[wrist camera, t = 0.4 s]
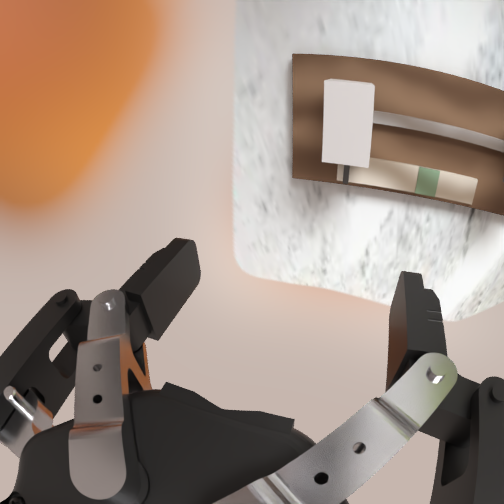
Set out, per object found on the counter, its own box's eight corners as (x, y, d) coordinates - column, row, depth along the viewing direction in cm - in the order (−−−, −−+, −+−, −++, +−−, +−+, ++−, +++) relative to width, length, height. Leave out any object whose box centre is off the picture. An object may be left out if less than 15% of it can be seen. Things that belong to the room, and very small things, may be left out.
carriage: (331, 78, 26) (324, 80, 21) (371, 83, 25) (374, 85, 20) (327, 180, 32) (319, 204, 27) (363, 185, 31) (363, 210, 26)
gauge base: (295, 54, 28) (277, 50, 22) (545, 109, 19) (579, 123, 13) (295, 173, 35) (278, 199, 30) (522, 216, 27) (546, 248, 21)
